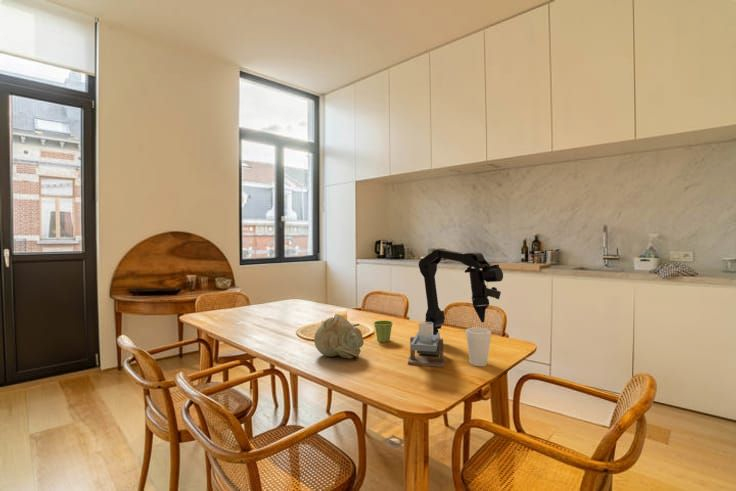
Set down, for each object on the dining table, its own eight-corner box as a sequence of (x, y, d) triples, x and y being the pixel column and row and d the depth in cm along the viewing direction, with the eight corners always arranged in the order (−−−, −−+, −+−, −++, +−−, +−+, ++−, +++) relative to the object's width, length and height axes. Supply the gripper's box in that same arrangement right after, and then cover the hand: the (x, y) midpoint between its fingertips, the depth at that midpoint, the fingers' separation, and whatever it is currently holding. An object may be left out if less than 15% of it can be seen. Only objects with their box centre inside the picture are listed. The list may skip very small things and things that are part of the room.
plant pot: (370, 342, 173) (370, 324, 173) (377, 337, 182) (377, 319, 182) (389, 344, 170) (389, 325, 169) (395, 338, 178) (395, 321, 178)
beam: (418, 350, 158) (418, 331, 158) (439, 351, 156) (439, 332, 156) (410, 367, 130) (410, 344, 131) (435, 369, 128) (435, 345, 129)
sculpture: (313, 368, 142) (361, 350, 140) (302, 320, 151) (346, 302, 149) (330, 371, 158) (372, 355, 156) (318, 327, 167) (359, 311, 165)
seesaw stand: (410, 357, 151) (410, 334, 151) (445, 360, 148) (445, 336, 147) (407, 364, 143) (407, 340, 143) (444, 367, 140) (444, 342, 140)
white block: (420, 339, 146) (420, 321, 146) (433, 339, 145) (433, 322, 145) (418, 342, 140) (418, 323, 140) (432, 342, 139) (432, 324, 139)
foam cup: (487, 369, 137) (487, 334, 137) (463, 364, 142) (463, 331, 142) (493, 361, 145) (493, 329, 145) (470, 357, 150) (470, 326, 150)
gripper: (500, 282, 142) (505, 322, 140) (496, 279, 160) (500, 316, 158) (470, 284, 144) (475, 324, 143) (469, 282, 162) (474, 317, 161)
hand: (482, 320), depth 151 cm, fingers open, 9 cm apart
